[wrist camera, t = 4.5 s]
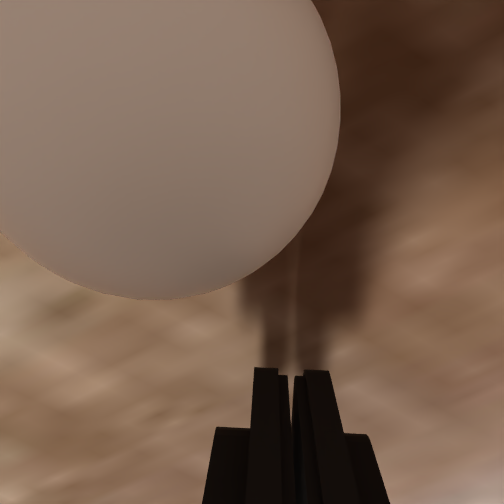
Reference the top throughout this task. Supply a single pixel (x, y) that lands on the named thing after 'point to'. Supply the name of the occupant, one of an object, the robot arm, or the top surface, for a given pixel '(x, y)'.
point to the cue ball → (162, 137)
